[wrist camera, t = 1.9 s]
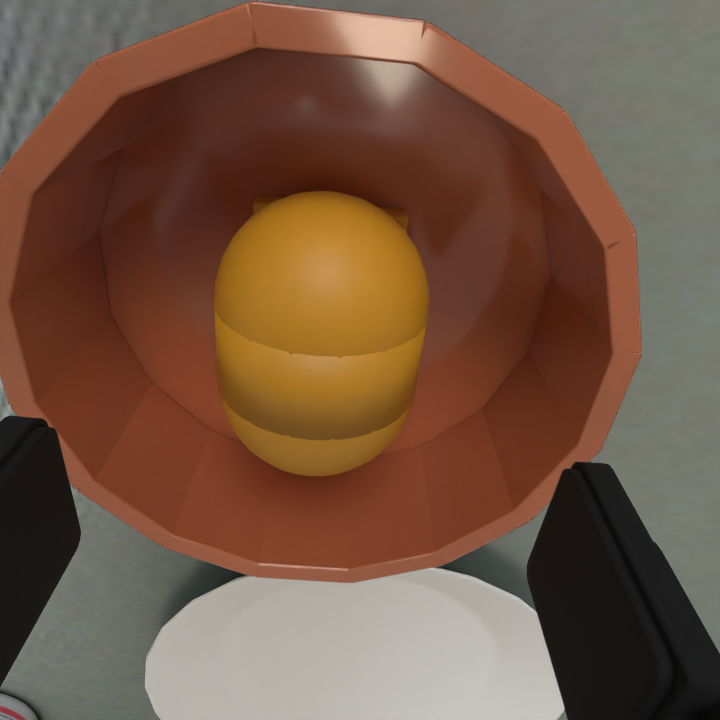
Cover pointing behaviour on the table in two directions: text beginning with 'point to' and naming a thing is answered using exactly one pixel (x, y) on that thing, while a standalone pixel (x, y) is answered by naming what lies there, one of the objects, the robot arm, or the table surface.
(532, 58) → the table surface
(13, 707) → the pill bottle
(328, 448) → the orange ribbed oval piece
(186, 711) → the plate
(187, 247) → the orange faceted round container
